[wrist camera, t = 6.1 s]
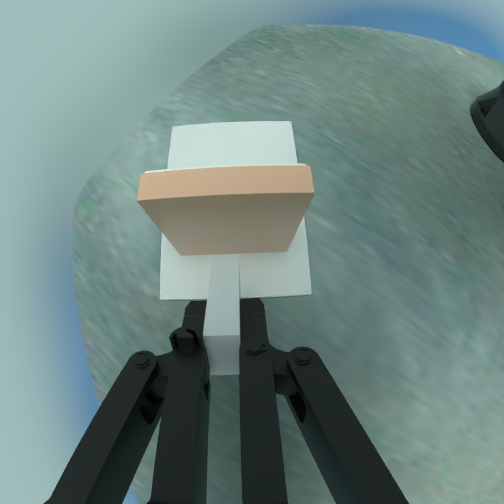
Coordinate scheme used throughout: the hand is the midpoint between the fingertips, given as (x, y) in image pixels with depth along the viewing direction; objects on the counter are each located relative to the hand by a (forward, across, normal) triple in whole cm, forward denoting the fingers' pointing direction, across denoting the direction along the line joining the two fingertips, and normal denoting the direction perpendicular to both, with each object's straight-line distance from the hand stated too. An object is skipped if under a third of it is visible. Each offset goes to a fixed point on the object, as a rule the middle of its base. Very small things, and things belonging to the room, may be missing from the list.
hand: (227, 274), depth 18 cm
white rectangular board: (+14, 0, 0) cm, 14 cm away
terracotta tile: (+10, 0, -3) cm, 10 cm away
